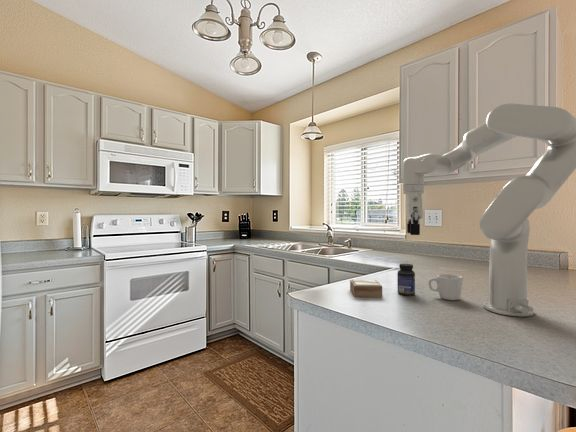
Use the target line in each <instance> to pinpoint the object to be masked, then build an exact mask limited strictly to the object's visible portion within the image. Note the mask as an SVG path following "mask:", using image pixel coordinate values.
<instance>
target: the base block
mask: <svg viewBox="0 0 576 432" xmlns="http://www.w3.org/2000/svg"><path fill="white" fill-rule="evenodd" d="M349 285H350V286H349V289H350V293H351V294H352V295H353V296H352V297H354V298H383V286H382V284H381V283H380V282H379V281H377V280H376V279H350V280H349Z"/></svg>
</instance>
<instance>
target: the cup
mask: <svg viewBox="0 0 576 432" xmlns="http://www.w3.org/2000/svg"><path fill="white" fill-rule="evenodd" d="M463 280H464V278H463V276H461V275H459V274H454V273H453V274H452V273H440V274H437V276H436V277H431V278H430V279H429V280H428V287H429V289H430V290H431V291H434V292H438V294H439V297H440V298H441V299H444V300H447V301H458V300H460V299H461V295H462V287H463ZM433 281H435V282H436V287H433V286H432V282H433Z"/></svg>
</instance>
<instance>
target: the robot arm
mask: <svg viewBox="0 0 576 432" xmlns="http://www.w3.org/2000/svg"><path fill="white" fill-rule="evenodd" d="M516 137H521V138H527V139H534V140H538V141H541V142H543V143H545V144H546V145H547V148H546V151H545V152H544V153H543V154H542V155H541V156H540V157H539V159H538V160H537V161H536V162H535V163H534V165H533V166H532V167H531V168H530V170H529V171H528V172H527V173H526V174H525V175H520V176H517V177H514V178H512V179H510V180H508V182H507V183H506V184H505V185H504V186H503V187H502V188H501V189H500V191H499V192H498V194H497V195H496V196H495V198H494V199H492V202H491V203H490V204H489V205H488V207H487V208H486V209H485V211H484V212H483V213H482V215H481V217H480V220H479V229H480V233H482V234H483V236H485V237H486V238H487V239H489V240H490V243H489V263H488V264H489V265H488V266H489V269H488V271H489V273H488V280H489V283H488V284H489V285H488V286H489V288H488V289H489V291H488V298H489V299H488V300H487V301H485V302H483V308H484V309H486V310H487V311H489V312H492V313H495V314H500V315H505V316H510V317H531V316H533V315H534V311H535V310H534V307H532V306H530V305H529V300H528V254H529V253H528V249H529V237H530V230H531V229H530V227H531V226H530V221H529V219H528V218H529V217H530V216H531V215H532V214H533V213H534V211H536V210H538V209H541V208H544V207H545V206H547V205H548V203H549V202H550V201H551V200H552V199H553V197H554V196H555V195H556V194H557V192H558V191H559V190H560V189H561V187H562V186H563V185H564V184H565V183H566V182H567V181H568V179H569V178H570V176H571V175H572V174H573V173H574V172H575V170H576V117H575V116H574V115H572V114H571V112H570V111H568V110H566V109H565V108H564V109H563V108H562V107H557V106H548V105H537V104H536V105H535V104H534V105H533V104H521V103H511V102H510V103H503V104H499V105H497V106H495V107H494V108H493V109H492V110H491V111H490V112H488V114H487V116H486V120H485V122H483V123H482V124H480V125H478V126H476V127H474V128H473V129H471V130H469V131H467V132H466V133H465V134H464V135H463V138H462V142H461V143H460V144H459V145H458V146H457V147H455V148H454V149H452V150H451V151H448V152H447V153H445V154H443V155H441V154H435V153H425V154H422V155H419V156H412V157H407V158H404V160H403V162H402V171H403V172H402V194H403V195H405V210H406V212H405V213H406V214H405V215H406V219H407V224H406V228H407V229H406V232H407V234H410V235H411V236H420V234H421V233H420V232H421V227H420V226H421V224H420V220H422V219H423V218H424V217H423V216H424V215H423V214H424V213H423V212H424V211H423V209H424V208H423V195H422V194H424V193H425V175H428V176H429V175H430V176H437V177H443V176H446V175H449V174H451V173H454V172H455V171H457V170H459V169H461V168H463V167H465V166H467V165H468V164H469V163H471V162H472V161H474V160H475V159H476V158H477V157H478V156H481V155H482V154H484V153H486V152H488V151H490V150H492V149H494V148H496V147H498V146H500V145H502V144H505V143H506V142H508V141H511V140H512V139H515V138H516Z"/></svg>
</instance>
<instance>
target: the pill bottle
mask: <svg viewBox="0 0 576 432" xmlns="http://www.w3.org/2000/svg"><path fill="white" fill-rule="evenodd" d="M413 268H414V265H413V264H412V263H400V264H399V270H397V293H398V295H401V296H406V297H408V296H409V297H411V296H415V295H416V272H415V271H414V270H413Z"/></svg>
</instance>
